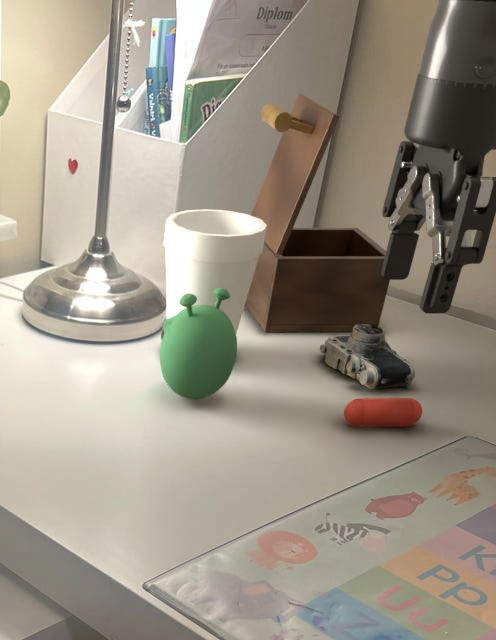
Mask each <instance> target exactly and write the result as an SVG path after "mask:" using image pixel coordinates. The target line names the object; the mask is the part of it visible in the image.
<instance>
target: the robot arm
mask: <svg viewBox="0 0 496 640" xmlns="http://www.w3.org/2000/svg"><path fill="white" fill-rule="evenodd" d="M425 37H426V38H425V42H424V45H423V50H422V54H421V57H420V58H421V59H420V63H419V66H418V67H419V68H418V71H417V75H416V79H415V80H416V81H415V83H414V88H413V92H412V96H411V99H410V105H409V108H408V113H407V117H406V120H405V124H404V129H403V132H404V133H403V135H404V136H405V138H406V139H407V140H402V141H401V142H400V143H399V145H398V149H397V153H396V157H395V161H394V165H393V168H392V172H391V176H390V180H389V184H388V187H387V191H386V194H385V199H384V201H383V202H384V203H383V206H382V211H381V212H382V217H383V218H388V222H387V228H388V230H389V231H391V232H390V235H389V238H388V243H387V247H386V250H385V251H386V255H385V259H384V263H383V267H382V271H381V274H382V276H383V277H384V278H385V279H387V280H390V281H395V280H396V281H403V280H406V279H407V278H408V277H409V275H410V272H411V269H412V268H411V267H412V264H413V260H414V257H415V252H416V249H417V245H418V242H419V239H420V234H419V233H418V232H419V231H420V230H421V228H422V227H423V226H424V224H425V233H426V235H427V236H428V237H429V238H431V239H432V240H431V241H432V262H430V267H429V270H428V273H427V277H426V280H425V284H424V288H423V291H422V296H421V299H420V302H419V309H420V310H421V311H422V312H423V313H425V314H437V315H438V314H446V313H447V312H449V310H450V309H451V306H452V302H453V299H454V296H455V292H456V289H457V286H458V282H459V279H460V275H461V272H462V269H463V267H464V266H468V265H471V264H472V265H479V264H481V263H482V262H483V260H484V257H485V254H486V249H487V246H488V243H489V238H490V236H491V233H492V228H493V224H494V221H495V217H496V176H483V171H484V165H485V157H486V155H487V154H489V153H490V152H491V151H493V150H496V0H438V2H437V4H436V8H435V10H434V14H433V16H432V19H431V21H430V25H429V27H428V31H427V34H426V36H425ZM474 231H475V235H474V239H473V242H472V233H473V232H474ZM447 237H449V238H448V241H447Z"/></svg>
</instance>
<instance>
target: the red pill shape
mask: <svg viewBox="0 0 496 640" xmlns="http://www.w3.org/2000/svg"><path fill="white" fill-rule="evenodd" d="M422 416H423V407H422V404H421V402H419V400H418V399H416V398H413V397H365V398H364V397H359V398H354V399H352V400H350V401H349V402H348V403H347V404H346V406H345V408H344V410H343V417H344V420H345V421H346V423H347V424H348V425H349V426H350V427H355V428H384V427H388V428H390V427H393V428H394V427H411V426H413V425H415V424H417V423H418V422H419V421H420V420H421V418H422Z"/></svg>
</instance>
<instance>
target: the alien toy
mask: <svg viewBox="0 0 496 640" xmlns="http://www.w3.org/2000/svg"><path fill="white" fill-rule="evenodd" d="M213 292H214V295H215V296H216V298H217V300H216V303H215V306H214V307H213V306H208V305H194V306H192V305H193V304H195V303H196V301H197V297H196V296H195V295H193V294H185V295H183V296H182V297H181V298H180V300H179V303H180V305H182V306H184V307H186V308H185V309H183V310H182V311H180V312H179V313H178V314H177V315H175V316H173V317H171V318H169V319H167V318H166V319H164V320H163V322H162V323H163V324H162V329H161V332H160V348H159V364H160V370H161V375H162V377H163V379H164V381H165V383H166V385H167V386H168V388H169V389H171V391H173V393H175V394H176V395H178V396H180V397H182V398H184V399H189V400H201V399H206V398H209V397H210V396H212V395H214V394H216V393H217V392H219V390H221V389H222V388H223V387H224V386H225V384H226V383H227V381H228V380H229V378H230V377H231V374H232V372H233V370H234V367H235V364H236V361H237V356H238V355H237V354H238V339H237V337H238V336H237V333H235V330H234V327H233V324H232V322H231V320H230V319H229V318H228V316H227V315H226V314H225V313H224V312H223V311H221V310H219V307H220V304H221V302H222V300H226V299H228V298H230V294H229V292H228V291H227V290H226V289H223V288H218V289H215V290H214V291H213Z"/></svg>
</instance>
